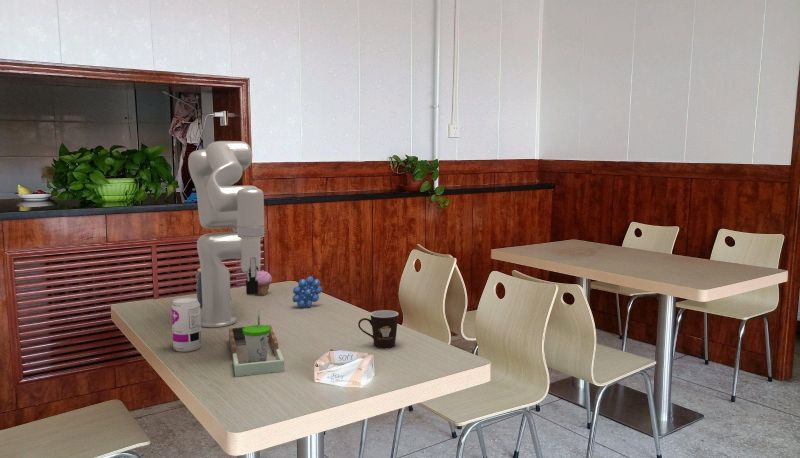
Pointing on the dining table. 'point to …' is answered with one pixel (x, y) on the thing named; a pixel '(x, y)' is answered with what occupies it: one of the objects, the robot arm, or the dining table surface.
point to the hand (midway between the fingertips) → (252, 293)
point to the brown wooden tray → (239, 339)
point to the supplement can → (186, 324)
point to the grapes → (307, 292)
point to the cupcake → (263, 282)
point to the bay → (259, 366)
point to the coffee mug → (383, 328)
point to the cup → (257, 341)
